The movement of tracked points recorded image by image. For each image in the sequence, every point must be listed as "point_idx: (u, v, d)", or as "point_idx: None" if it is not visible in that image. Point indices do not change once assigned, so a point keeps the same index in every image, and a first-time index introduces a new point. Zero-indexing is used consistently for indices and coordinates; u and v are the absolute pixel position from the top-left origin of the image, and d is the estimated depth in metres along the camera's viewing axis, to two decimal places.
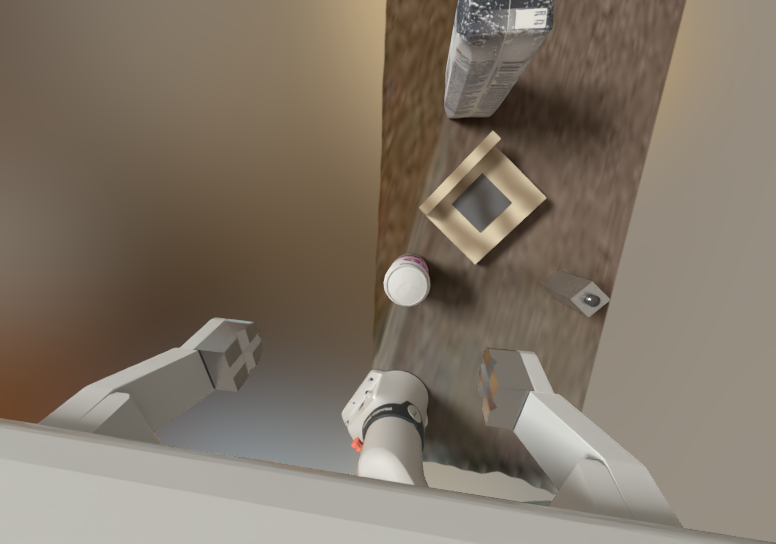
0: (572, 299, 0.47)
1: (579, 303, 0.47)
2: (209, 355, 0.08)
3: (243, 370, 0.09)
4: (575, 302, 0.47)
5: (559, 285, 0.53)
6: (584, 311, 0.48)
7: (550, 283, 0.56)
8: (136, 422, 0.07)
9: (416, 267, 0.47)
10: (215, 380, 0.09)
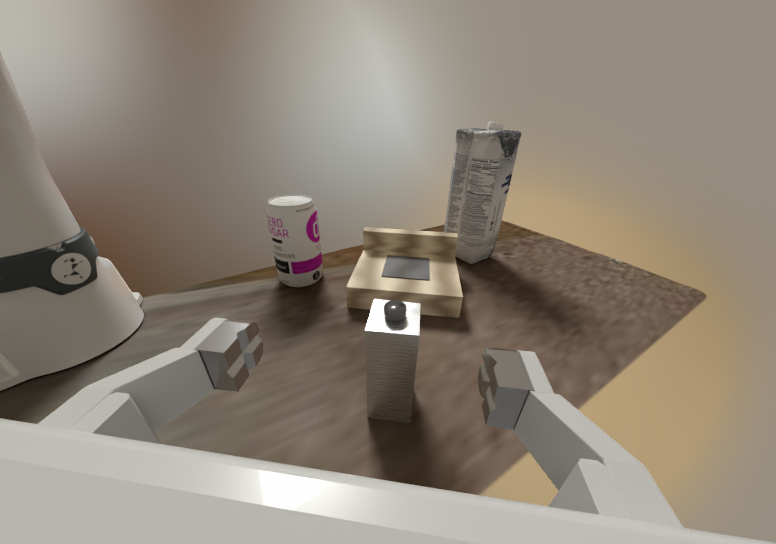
0: (376, 300, 0.27)
1: (376, 309, 0.26)
2: (209, 355, 0.08)
3: (243, 371, 0.09)
4: (374, 305, 0.26)
5: None
6: (370, 320, 0.24)
7: None
8: (136, 422, 0.07)
9: (312, 202, 0.47)
10: (215, 380, 0.09)
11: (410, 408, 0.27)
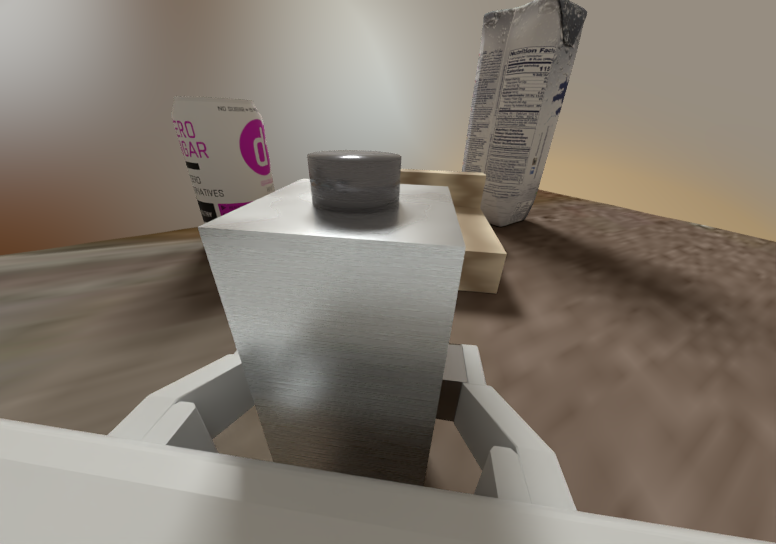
0: (306, 180, 0.08)
1: (295, 190, 0.07)
2: None
3: None
4: (296, 185, 0.08)
5: None
6: (252, 207, 0.06)
7: None
8: (200, 432, 0.07)
9: (253, 105, 0.29)
10: None
11: None
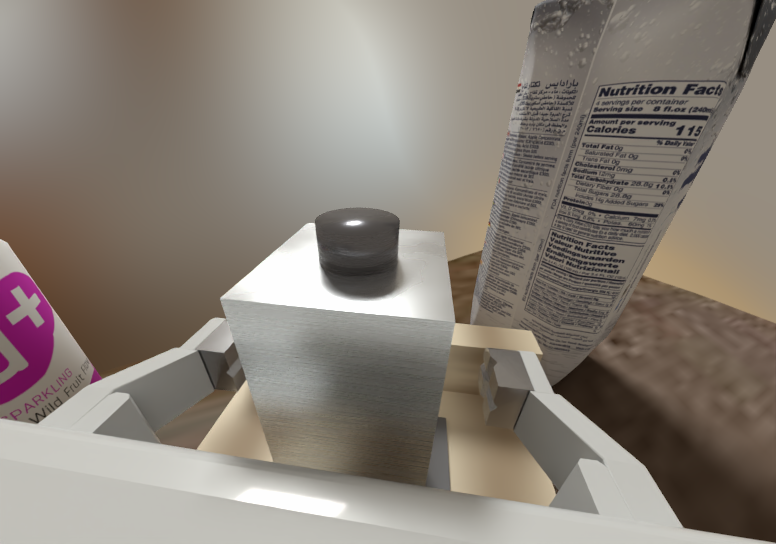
0: (312, 225, 0.09)
1: (302, 242, 0.08)
2: (209, 355, 0.08)
3: (243, 371, 0.09)
4: (303, 234, 0.08)
5: None
6: (265, 268, 0.06)
7: None
8: (136, 422, 0.07)
9: None
10: (215, 380, 0.09)
11: None
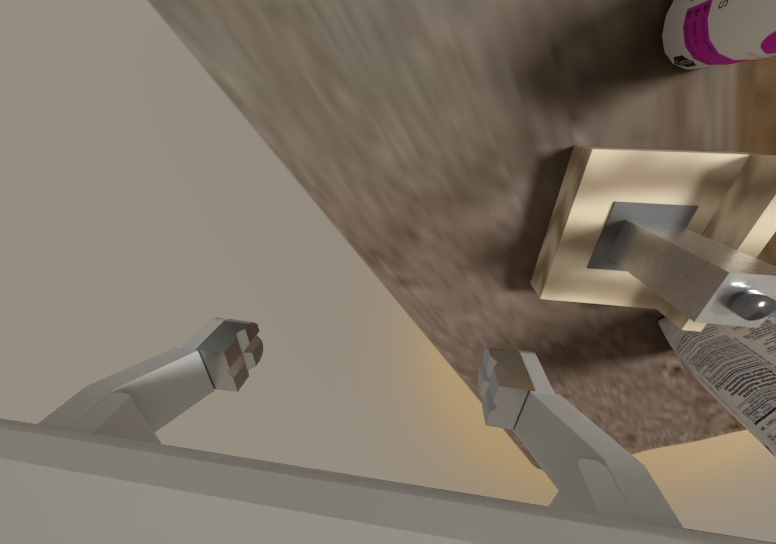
0: None
1: (770, 281, 0.20)
2: (209, 355, 0.08)
3: (243, 370, 0.09)
4: None
5: None
6: (747, 276, 0.20)
7: None
8: (136, 422, 0.07)
9: None
10: (215, 380, 0.09)
11: (621, 265, 0.30)
